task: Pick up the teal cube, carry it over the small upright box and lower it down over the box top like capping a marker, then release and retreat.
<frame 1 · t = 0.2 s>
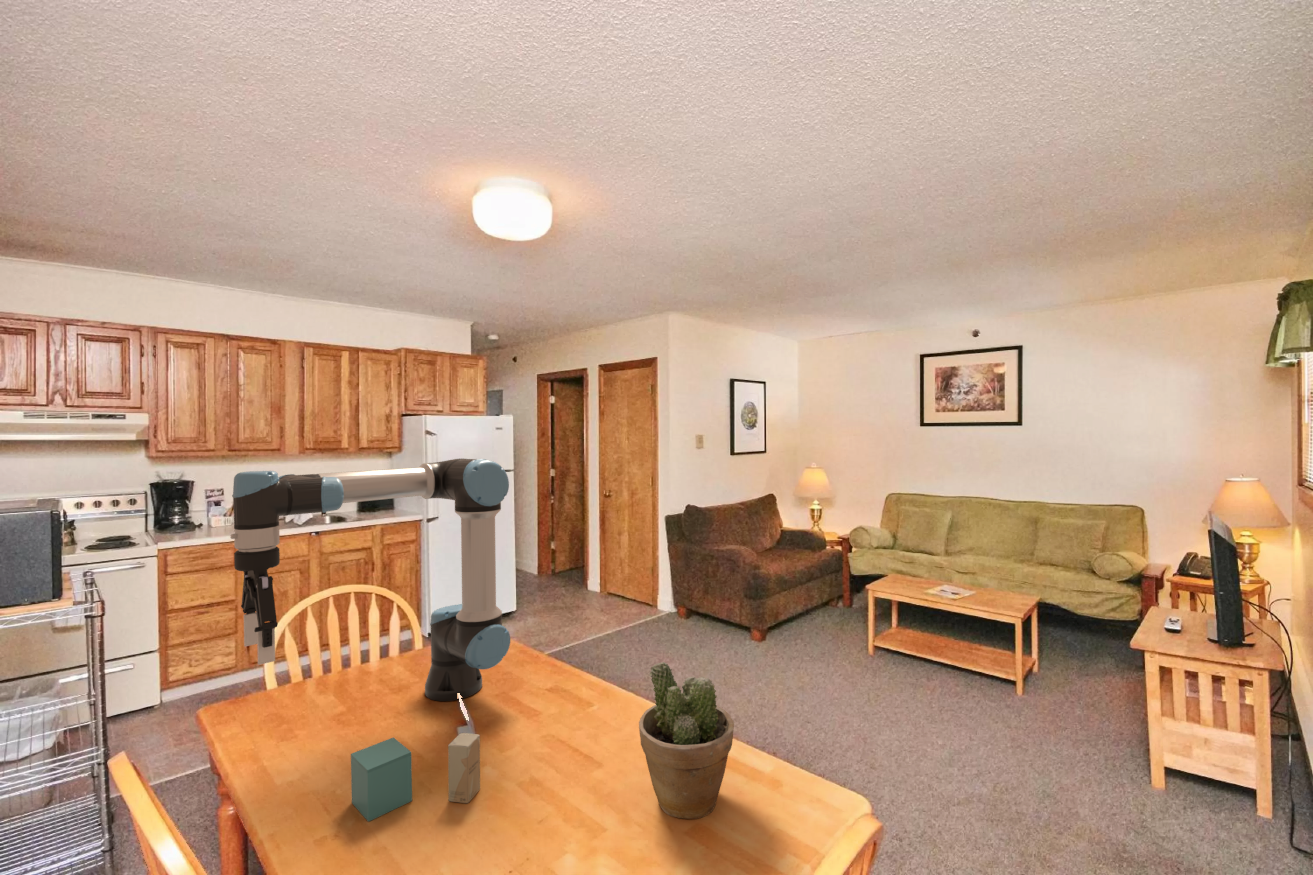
hand: (259, 653, 117), 28 cm above the table, fingers open, 13 cm apart
potted plant: (687, 801, 113), on the table
box: (464, 795, 115), on the table
teal cube: (381, 801, 113), on the table
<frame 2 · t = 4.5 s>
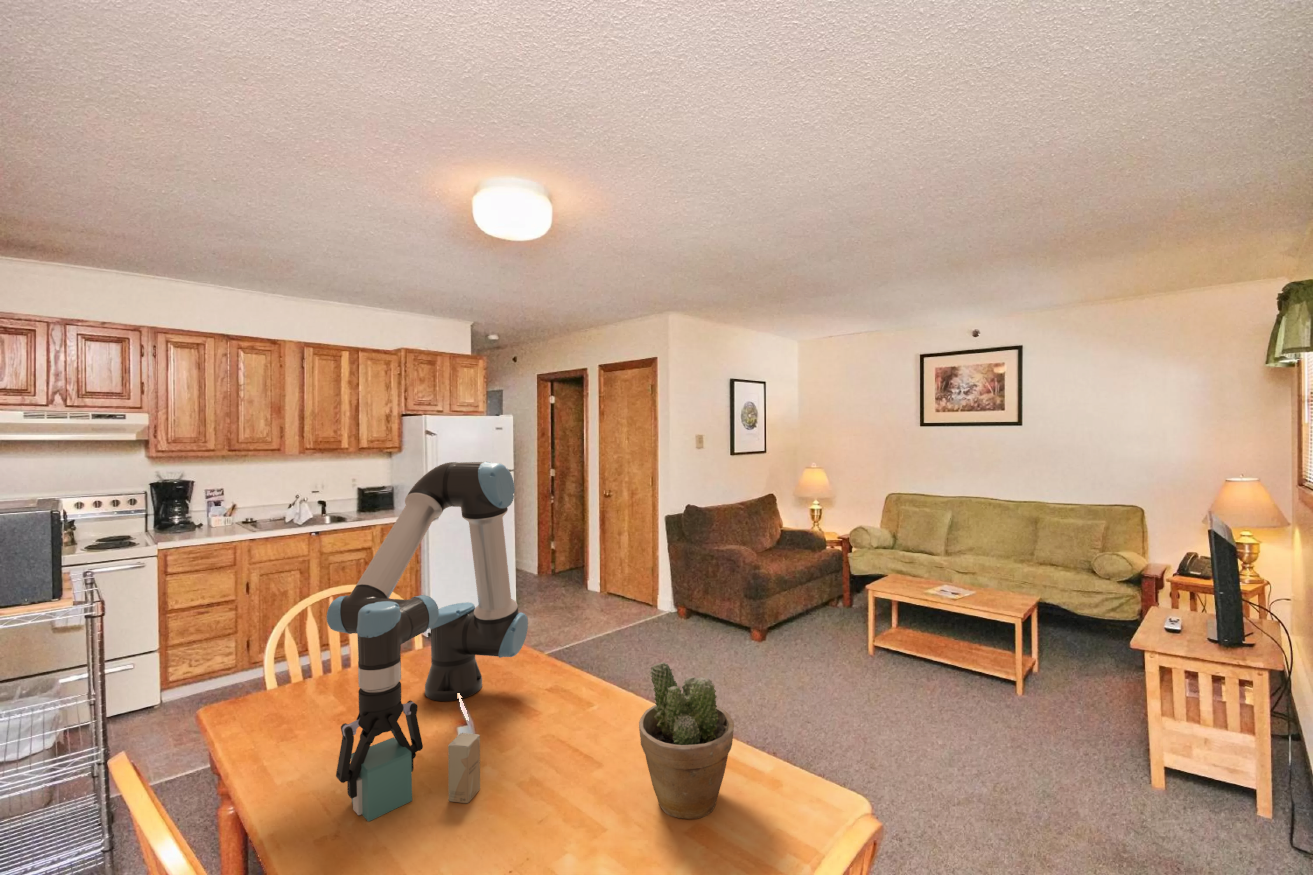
hand: (381, 800, 113), 0 cm above the table, fingers closed on teal cube, 8 cm apart
teal cube: (382, 801, 113), on the table, touching gripper
everything else where it was.
when the fingers open (3 cm above the table, at t = 10.7 s): teal cube stays where it is, resting on box.
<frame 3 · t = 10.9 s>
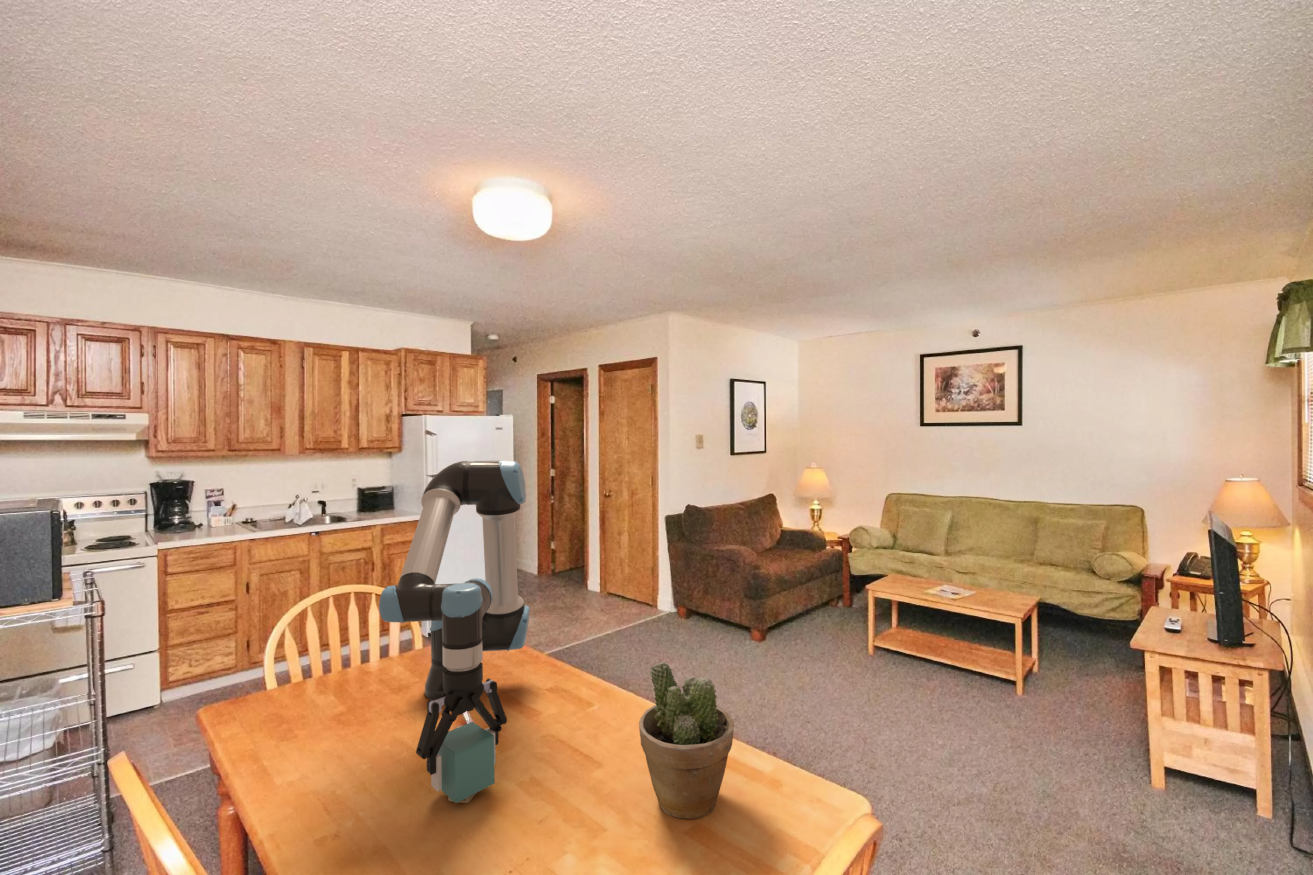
hand: (464, 774, 115), 4 cm above the table, fingers open, 11 cm apart
box: (464, 795, 115), on the table, touching teal cube
teal cube: (465, 784, 115), point 2 cm above the table, touching box
everything else where it was.
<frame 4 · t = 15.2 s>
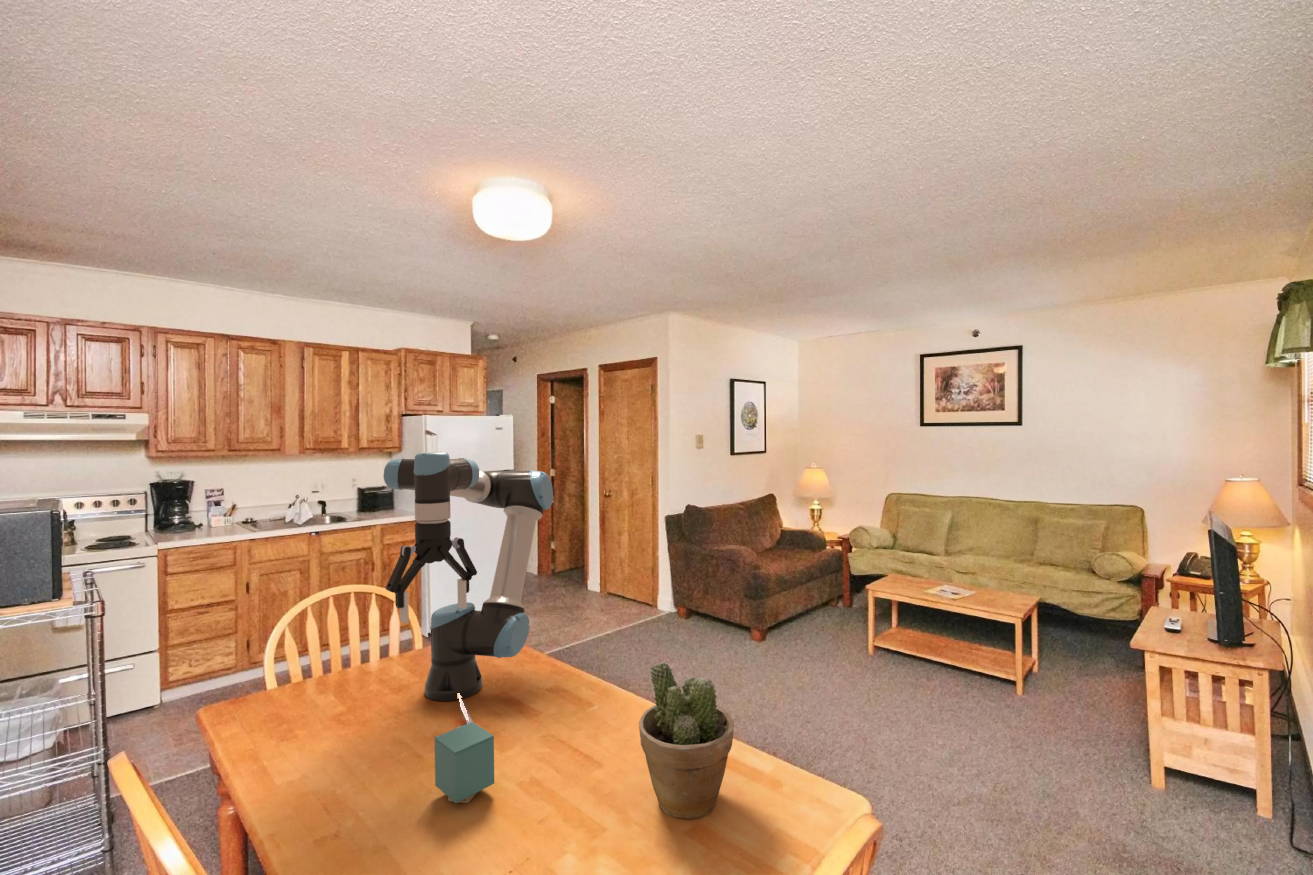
hand: (434, 614, 132), 31 cm above the table, fingers open, 13 cm apart
nothing on the table moved.
at the end: teal cube 0.1 cm off-centre in the box, point 2.3 cm above the box's base; teal cube tilted 0°; box tilted 0° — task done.
